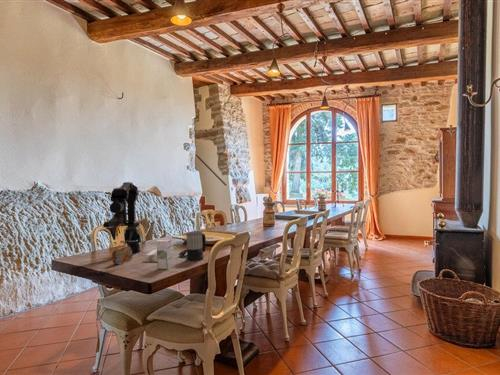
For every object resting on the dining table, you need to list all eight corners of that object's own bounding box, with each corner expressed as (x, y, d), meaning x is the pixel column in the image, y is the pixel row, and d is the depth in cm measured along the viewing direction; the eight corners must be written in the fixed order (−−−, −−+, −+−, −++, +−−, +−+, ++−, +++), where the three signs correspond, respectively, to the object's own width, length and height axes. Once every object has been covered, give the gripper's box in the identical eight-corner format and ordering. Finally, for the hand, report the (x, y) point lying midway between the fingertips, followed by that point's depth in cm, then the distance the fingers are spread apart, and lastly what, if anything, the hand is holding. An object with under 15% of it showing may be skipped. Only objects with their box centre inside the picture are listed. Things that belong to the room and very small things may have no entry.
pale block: (144, 262, 191) (144, 255, 191) (158, 254, 211) (158, 247, 211) (161, 262, 190) (161, 255, 190) (174, 254, 210) (174, 247, 209)
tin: (116, 266, 182) (115, 250, 182) (110, 266, 183) (110, 250, 183) (133, 259, 197) (133, 244, 196) (128, 259, 198) (128, 244, 197)
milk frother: (200, 261, 188) (199, 234, 187) (172, 261, 190) (171, 234, 190) (207, 255, 202) (207, 229, 201) (181, 255, 204) (181, 229, 204)
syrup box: (172, 266, 178) (171, 238, 178) (167, 269, 172) (166, 240, 172) (162, 266, 179) (161, 238, 179) (157, 269, 173) (155, 240, 173)
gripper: (95, 213, 183) (97, 242, 184) (127, 213, 179) (129, 243, 180) (108, 210, 194) (110, 238, 195) (139, 210, 190) (140, 239, 191)
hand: (121, 240), depth 190 cm, fingers open, 9 cm apart
